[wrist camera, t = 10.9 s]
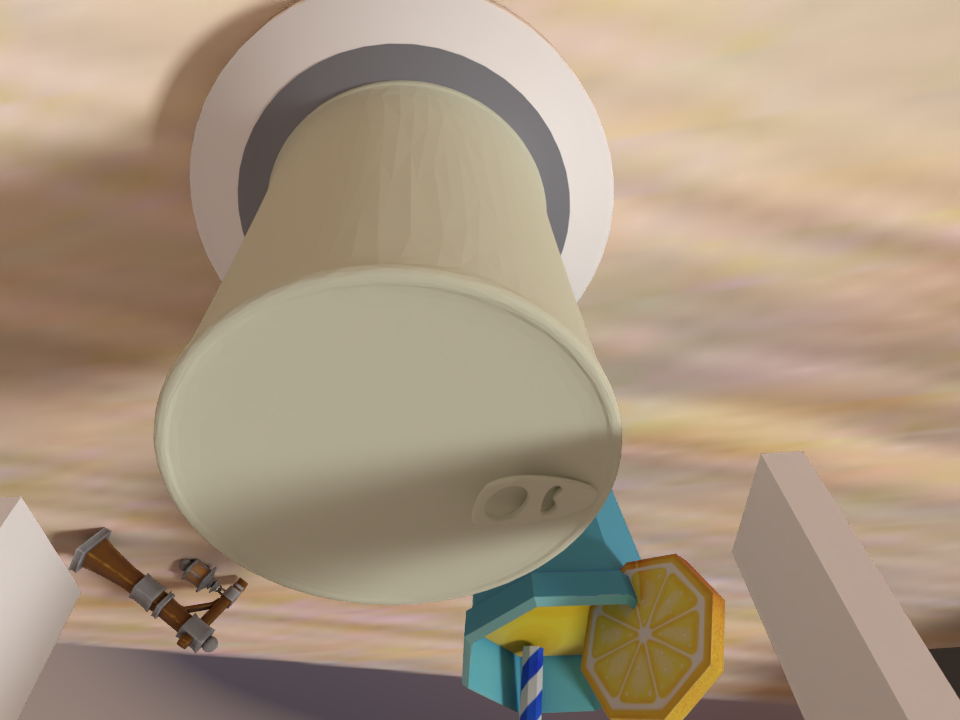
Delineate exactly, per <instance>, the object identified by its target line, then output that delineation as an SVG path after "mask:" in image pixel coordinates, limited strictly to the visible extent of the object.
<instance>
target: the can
mask: <svg viewBox="0 0 960 720" xmlns="http://www.w3.org/2000/svg"><path fill="white" fill-rule="evenodd" d="M154 448H155V454H156V458H157V463H158V467H159V470H160V473H161V475H162V478H163V481H164V483H165V486H166V488H167V490H168V492H169V494H170V496H171V497H172V499H173V501H174V503H175V504H176V506H177V508H178V509H179V511H180V512H181V513H182V515H183V516H184V517H185V518H186V520H187V521H188V522H189V523H190V525H191V526H192V527H193V528H194V529H195V530H196V531H197V532H198V533H199V534H200V535H201V536H202V537H203V538H204V539H205V540H206V541H207V542H208V543H210V544H211V545H212V546H213V547H215V548H216V549H217V550H219V551H220V552H221V553H223V554H224V555H225V556H227V557H228V558H229V559H231V560H232V561H234V562H236V563H238V564H239V565H241V566H243V567H244V568H246V569H248V570H249V571H251V572H253V573H255V574H257V575H259V576H261V577H264V578H266V579H268V580H270V581H273V582H275V583H277V584H280V585H282V586H284V587H288V588H291V589H294V590H297V591H300V592H304V593H307V594H311V595H314V596H319V597H324V598H328V599H333V600H339V601H346V602H353V603H362V604H377V605H407V604H422V603H431V602H439V601H445V600H450V599H456V598H461V597H465V596H469V595H473V594H476V593H480V592H484V591H487V590H490V589H492V588H495V587H498V586H501V585H503V584H506V583H509V582H511V581H513V580H515V579H517V578H519V577H521V576H524V575H526V574H528V573H530V572H532V571H533V570H535V569H537V568H538V567H540V566H542V565H543V564H545V563H546V562H548V561H549V560H551V559H552V558H554V557H555V556H556V555H558V554H559V553H561V552H562V551H563V550H564V549H566V548H567V547H568V546H569V545H570V544H571V543H573V542H574V541H575V540H576V539H577V538H578V537H579V536H580V535H581V534H582V533H583V532H584V530H585V529H586V528H587V527H588V526H589V524H590V523H591V522H592V521H593V520H594V518H595V517H596V516H597V514H598V513H599V511H600V510H601V508H602V507H603V505H604V503H605V502H606V500H607V498H608V496H609V494H610V491H611V489H612V487H613V484H614V481H615V479H616V476H617V473H618V468H619V464H620V459H621V449H622V428H621V419H620V412H619V409H618V406H617V402H616V399H615V395H614V392H613V389H612V387H611V385H610V383H609V380H608V378H607V377H606V375H605V373H604V371H603V369H602V367H601V366H600V364H599V362H598V360H597V357H596V355H595V352H594V349H593V347H592V344H591V341H590V338H589V336H588V333H587V330H586V327H585V324H584V322H583V319H582V316H581V313H580V310H579V308H578V305H577V302H576V299H575V297H574V294H573V291H572V288H571V285H570V282H569V279H568V276H567V273H566V270H565V267H564V264H563V261H562V258H561V255H560V252H559V249H558V246H557V243H556V240H555V237H554V234H553V232H552V228H551V225H550V222H549V219H548V215H547V208H546V198H545V192H544V187H543V183H542V180H541V177H540V174H539V171H538V168H537V166H536V164H535V161H534V160H533V158H532V156H531V154H530V152H529V150H528V149H527V147H526V146H525V144H524V142H523V141H522V140H521V138H520V137H519V136H518V134H517V133H516V132H515V131H514V130H513V129H512V128H511V127H510V125H509V124H507V123H506V122H505V121H504V120H503V119H502V118H501V117H500V116H499V115H498V114H496V113H495V112H494V111H493V110H491V109H490V108H488V107H487V106H486V105H484V104H482V103H481V102H479V101H478V100H476V99H474V98H472V97H470V96H468V95H466V94H464V93H461V92H459V91H457V90H454V89H451V88H448V87H444V86H441V85H437V84H433V83H427V82H420V81H407V80H395V81H384V82H376V83H372V84H367V85H363V86H360V87H357V88H353V89H350V90H348V91H346V92H343V93H341V94H339V95H337V96H335V97H333V98H331V99H329V100H328V101H326V102H325V103H323V104H322V105H320V106H319V107H318V108H316V109H315V110H314V111H313V112H311V113H310V114H309V115H308V116H307V117H306V118H305V119H304V120H303V121H302V122H301V123H300V124H299V125H298V126H297V127H296V128H295V129H294V131H293V132H292V133H291V135H290V136H289V137H288V138H287V140H286V142H285V143H284V145H283V147H282V149H281V150H280V152H279V154H278V157H277V159H276V161H275V164H274V167H273V170H272V173H271V176H270V181H269V187H268V191H267V193H266V195H265V197H264V199H263V201H262V203H261V205H260V207H259V210H258V212H257V214H256V216H255V218H254V220H253V222H252V224H251V226H250V228H249V230H248V232H247V234H246V236H245V238H244V240H243V242H242V244H241V246H240V248H239V250H238V252H237V254H236V256H235V258H234V260H233V262H232V264H231V266H230V268H229V270H228V271H227V273H226V275H225V277H224V279H223V281H222V283H221V285H220V287H219V288H218V290H217V292H216V294H215V296H214V298H213V300H212V302H211V304H210V306H209V307H208V309H207V311H206V313H205V315H204V317H203V319H202V321H201V322H200V324H199V326H198V328H197V330H196V332H195V333H194V335H193V337H192V339H191V341H190V342H189V343H188V344H187V345H186V346H185V348H184V349H183V350H182V352H181V353H180V354H179V356H178V357H177V359H176V360H175V361H174V363H173V365H172V367H171V369H170V371H169V373H168V374H167V377H166V379H165V382H164V384H163V387H162V389H161V392H160V395H159V398H158V402H157V406H156V411H155V420H154Z"/></svg>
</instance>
